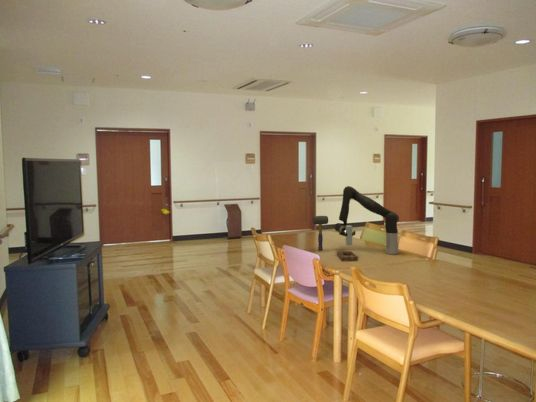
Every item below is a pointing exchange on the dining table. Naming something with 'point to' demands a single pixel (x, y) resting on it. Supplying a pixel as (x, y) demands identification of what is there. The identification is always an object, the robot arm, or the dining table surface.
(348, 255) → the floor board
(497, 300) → the dining table surface
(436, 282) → the dining table surface
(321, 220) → the rubber mallet
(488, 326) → the dining table surface
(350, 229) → the plank post
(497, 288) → the dining table surface
